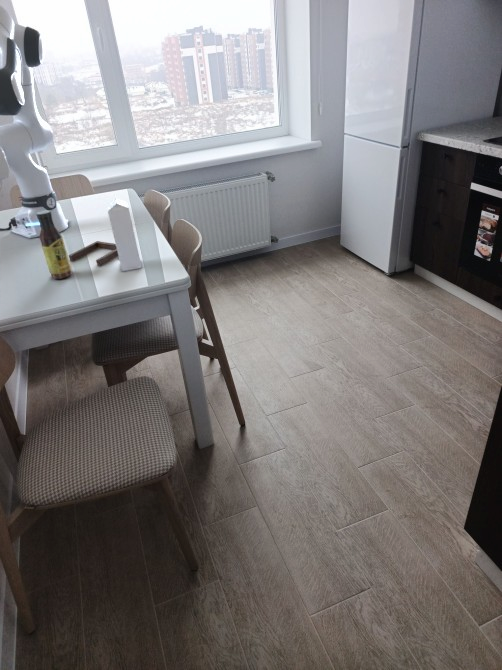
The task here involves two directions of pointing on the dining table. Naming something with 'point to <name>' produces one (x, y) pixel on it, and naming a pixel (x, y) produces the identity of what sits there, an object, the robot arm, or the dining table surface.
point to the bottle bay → (93, 247)
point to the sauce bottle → (53, 247)
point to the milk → (124, 235)
